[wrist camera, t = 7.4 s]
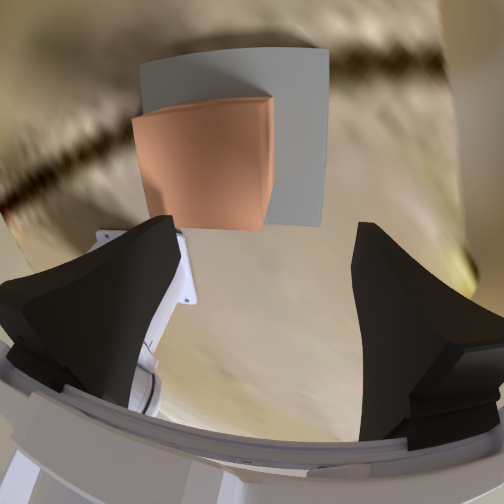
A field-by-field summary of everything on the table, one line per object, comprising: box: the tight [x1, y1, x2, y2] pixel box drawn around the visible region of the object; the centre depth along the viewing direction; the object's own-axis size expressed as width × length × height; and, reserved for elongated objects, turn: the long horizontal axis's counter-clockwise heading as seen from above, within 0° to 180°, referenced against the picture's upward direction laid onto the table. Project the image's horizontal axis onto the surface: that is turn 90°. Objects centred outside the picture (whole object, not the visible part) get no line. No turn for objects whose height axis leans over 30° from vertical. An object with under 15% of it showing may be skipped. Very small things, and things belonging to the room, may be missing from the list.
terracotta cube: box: [132, 97, 275, 231], centre depth 13 cm, size 5×5×6 cm
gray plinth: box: [138, 47, 329, 227], centre depth 16 cm, size 11×11×2 cm
